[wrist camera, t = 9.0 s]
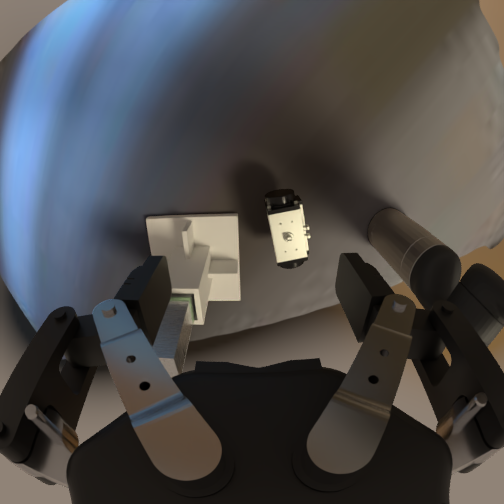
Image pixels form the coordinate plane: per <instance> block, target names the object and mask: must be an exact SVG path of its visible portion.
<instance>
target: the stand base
mask: <svg viewBox="0 0 504 504" xmlns="http://www.w3.org/2000/svg"><path fill="white" fill-rule="evenodd" d="M146 224H147V231H148V237H149V243H150V249H151V255H152V256H166V258H167V263H168V269H169V274H170V280H171V286H172V293H194V299H195V306H196V312H195V317H194V319H195V320H194V323H193V324H204V320H205V314H206V309H207V304H208V301H240V269H239V235H238V213H234V214H195V215H169V216H149V217H147V218H146Z"/></svg>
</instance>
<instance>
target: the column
mask: <svg viewBox="0 0 504 504" xmlns="http://www.w3.org/2000/svg"><path fill="white" fill-rule="evenodd" d="M195 312H196V306H195V299H194V293H172V294H171V299H170V301H169V304H168V306H167V309H166V312H165V314H164V317H163V320H162V322H161V325H160V328H159V331H158V333H157V336H156V339H155V342H154V345H153V346H151V347H152V348H153V350H154V352H155V353H156V355H157V357H158V358H159V360H160V361H161V363H162V364H163V366H164V368H165V369H166V371H167V372H168V374H169V375H170V377H171V378H172V377H174V376H176V375H179V374H181V373H182V370H183V366H184V361H185V355H186V352H187V347H188V343H189V338H190V334H191V329H192V325H193V323H194V320H195V319H194V317H195Z"/></svg>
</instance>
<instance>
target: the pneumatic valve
mask: <svg viewBox="0 0 504 504" xmlns="http://www.w3.org/2000/svg"><path fill="white" fill-rule="evenodd" d="M264 201H265V206H266V211H267V216H268V221H269V226H270V231H271V236H272V241H273V246H274V251H275V256H276V260H277V265H278V266H280V267H282V268H285V269H291V268H296V267H298V266H300V265H302V264H303V263H304V261H307V260H308V257H307V254H309V249H308V241H307V237H308V238H310V233H307V234H306V229H307V230H309V225H306V226H305V220H304V213H303V206H302V200H301V199H300V197H299V196H298V195H296V196H295V194H294V190H292V189H279V190H275V191H271V192H269V193H267V194H266V195H265V200H264Z"/></svg>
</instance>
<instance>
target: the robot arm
mask: <svg viewBox="0 0 504 504" xmlns="http://www.w3.org/2000/svg"><path fill="white" fill-rule="evenodd" d="M368 238H369V241H370V243H371V244H372V246H373V247H374V248H375V249H376V250H377V251H378V252H379V253H380V255H381V256H382V257H383V258H384V259H385V260H386V261H387V262H388V264H389V265H390V266H391V267H392V268H393V269H394V270H395V272H396V273H397V274H398V275H399V276H400V277H401V279H402V280H403V281H404V282H405V283H406V284H407V286H408V287H409V288H410V289H411V291H412V292H413V293H414V294H415V295H416V297H417V299H418V300H419V302H420V303H421V304H422V306H423V307H424V309H425V310H424V309H417V308H416V306H415V304H414V302H413V301H412V300H411V299H409V298H408V297H406V296H403V295H399V294H395V293H394V292H393V290H392V289H391V288H390V286H389V285H388V284H387V282H386V281H385V280H384V279H383V277H382V276H381V275H380V273H379V272H378V271H377V269H376V268H375V267H373V266H372V265H370V264H368V263H365V262H364V261H363V260H362V258H361V257H360V256H359V254H358V253H342V254H341V255H340V259H339V265H338V271H337V277H336V285H335V288H336V294H337V297H338V299H339V301H340V303H341V305H342V308H343V310H344V312H345V314H346V316H347V318H348V320H349V323H350V325H351V327H352V330H353V332H354V334H355V336H356V339H357V341H358V343H359V342H363V344H362V346H361V348H360V350H359V352H358V354H357V356H356V358H355V360H354V362H353V364H352V365H351V368H350V369H349V371H348V373H347V374H345V373H343V372H341V371H338V370H334V369H331V368H326V367H322V366H321V362H320V359H319V358H317V359H305V360H290V361H286V362H282V363H278V364H274V365H270V366H266V367H261V368H255V367H249V366H244V365H239V364H233V363H229V362H201V361H196V366H195V370H193V371H188V372H185V373H181V374H179V375H176V376H174V377H172V378H171V377H170V375H169V374H168V372H167V371H166V369H165V368H164V366H163V364H162V363H161V361H160V360H159V358H158V357H157V355H156V353H155V352H154V350H153V348H152V347H151V346H153V345H154V342H155V339H156V336H157V333H158V331H159V328H160V325H161V322H162V320H163V317H164V314H165V312H166V309H167V306H168V304H169V301H170V299H171V294H172V286H171V280H170V274H169V269H168V263H167V258H166V256H149V257H148V258H147V260H146V261H145V263H144V264H143V266H139V267H137V268H136V269H134V270H133V271H132V272H131V273H130V275H129V276H128V277H127V279H126V280H125V282H124V285H122V286H121V288H120V289H119V291H118V293H117V294H116V296H115V297H114V299H110V300H106V301H104V302H102V303H100V304H98V305H97V306H96V307H95V308H94V310H93V314H91V315H85V316H78V317H77V314H76V312H75V310H74V309H73V308H72V307H69V306H65V307H60V308H58V309H56V310H54V311H53V312H51V313H50V314H49V316H48V317H47V319H46V320H45V321H44V323H43V324H42V326H41V327H40V329H39V330H38V332H37V333H36V335H35V336H34V338H33V339H32V341H31V342H30V344H29V346H28V347H27V349H26V351H25V352H24V354H23V355H22V357H21V359H20V360H19V362H18V364H17V365H16V367H15V369H14V371H13V372H12V374H11V376H10V378H9V380H8V382H7V383H6V385H5V387H4V389H3V391H2V393H1V395H0V453H1V454H3V455H4V456H5V457H6V458H7V459H8V460H9V461H10V462H12V463H13V464H15V465H16V466H17V467H19V468H20V469H22V470H23V471H25V472H26V473H28V474H29V475H31V476H33V477H35V478H37V479H38V480H40V481H42V482H43V483H45V484H48V485H55V484H59V485H62V486H64V487H67V488H69V491H70V495H71V500H72V504H449V487H450V479H451V475H452V474H454V473H456V472H460V473H468V472H470V471H472V470H473V469H475V468H476V467H478V466H479V465H480V464H482V463H483V462H485V461H486V460H487V459H489V458H490V457H491V456H493V455H494V454H495V453H496V452H498V451H499V450H500V449H501V448H503V447H504V373H503V371H502V369H501V368H500V366H499V365H498V363H497V361H496V360H495V359H494V357H493V355H492V354H491V352H490V351H489V349H488V348H487V347H488V345H489V344H490V343H491V342H492V341H493V340H494V338H495V337H496V336H497V334H498V333H499V332H500V331H501V329H502V328H503V327H504V280H503V279H502V278H501V277H500V276H499V275H498V274H496V273H495V272H494V271H493V270H491V269H490V268H488V267H487V266H485V265H483V264H479V263H476V264H473V265H472V266H471V267H470V268H469V269H468V270H467V272H466V273H465V274H464V276H463V277H462V279H461V280H460V276H461V262H460V259H459V257H458V255H457V254H456V253H455V252H454V251H453V250H451V249H450V248H449V247H448V246H446V245H445V244H444V243H443V242H441V241H440V240H439V239H437V238H436V237H435V236H433V235H432V234H431V233H430V232H428V231H427V230H426V229H424V228H423V227H422V226H420V225H419V224H417V223H416V222H415V221H413V220H412V219H410V218H409V217H407V216H406V215H404V214H403V213H401V212H399V211H398V210H396V209H393V208H387V209H384V210H381V211H380V212H378V213H377V214H376V215H375V216H374V217H373V219H372V220H371V222H370V224H369V228H368ZM459 280H460V281H461V282H459ZM445 347H446V348H447V349H448V351H449V352H450V354H451V359H452V361H451V366H449V364H448V363H447V361H446V359H445V357H444V356H443V354H442V352H443V350H444V349H445ZM63 355H65V357H66V359H67V360H66V363H65V365H64V367H63V369H62V371H61V373H60V371H59V364H60V361H61V359H62V357H63ZM407 359H411V360H412V362H413V364H414V366H415V368H416V370H417V373H418V375H419V377H420V379H421V381H422V384H423V386H424V388H425V391H426V393H427V396H428V398H429V400H430V403H431V405H432V408H433V410H434V413H435V415H436V418H437V421H438V424H437V426H436V432H434V431H433V430H431V429H430V428H428V427H426V426H425V425H423V424H422V423H420V422H418V421H417V420H415V419H414V418H412V417H411V416H409V415H407V414H406V413H404V412H403V411H401V410H400V409H398V408H397V407H395V406H394V405H392V404H393V401H394V399H395V396H396V392H397V390H398V387H399V384H400V380H401V377H402V374H403V371H404V367H405V364H406V360H407ZM100 365H108V368H109V371H110V373H111V376H112V378H113V381H114V383H115V386H116V388H117V391H118V393H119V395H120V397H121V399H122V402H123V404H124V406H125V409H126V412H125V413H123V414H122V415H121V416H119V417H118V418H117V419H115V420H114V421H113V422H111V423H110V424H109V425H107V426H106V427H104V428H103V429H102V430H100V431H99V432H97V433H96V434H95V435H93V436H92V437H90V438H89V439H87V440H86V441H85V442H83V443H82V444H80V445H79V440H78V436H77V434H76V432H75V430H76V427H77V423H78V420H79V417H80V414H81V411H82V408H83V405H84V402H85V400H86V397H87V393H88V391H89V388H90V385H91V383H92V380H93V378H94V375H95V373H96V370H97V367H98V366H100ZM78 445H79V446H78Z"/></svg>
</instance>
